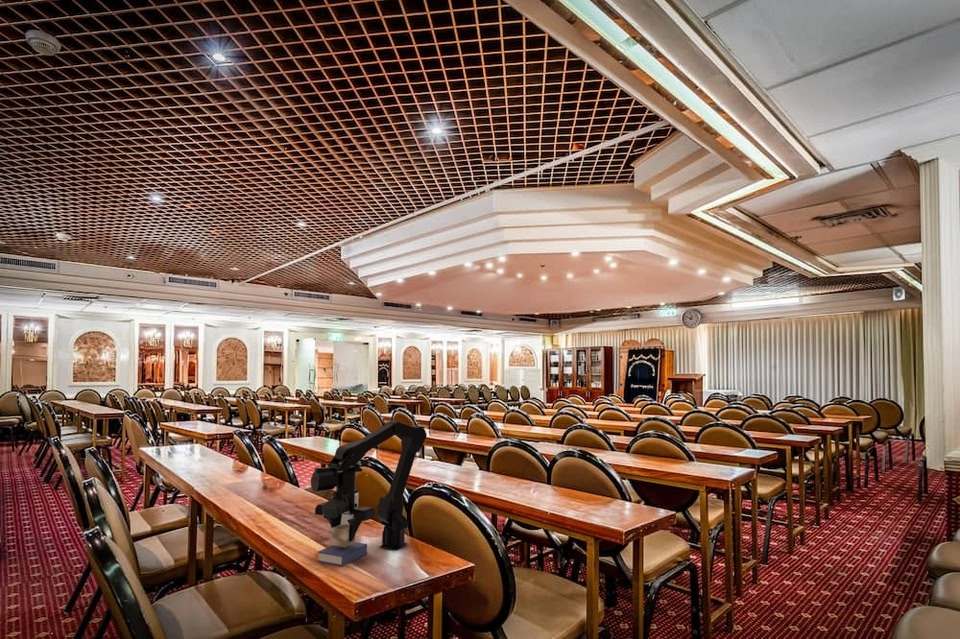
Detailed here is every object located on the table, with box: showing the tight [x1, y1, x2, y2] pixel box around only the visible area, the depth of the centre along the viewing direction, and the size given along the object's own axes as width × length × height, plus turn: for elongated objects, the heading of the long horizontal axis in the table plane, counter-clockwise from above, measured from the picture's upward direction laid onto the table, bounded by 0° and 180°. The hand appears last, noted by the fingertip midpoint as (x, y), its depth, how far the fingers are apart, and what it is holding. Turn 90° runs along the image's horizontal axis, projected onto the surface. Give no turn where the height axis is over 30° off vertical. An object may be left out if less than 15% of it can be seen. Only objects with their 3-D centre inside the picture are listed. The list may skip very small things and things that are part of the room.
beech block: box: [330, 524, 356, 547], centre depth 157 cm, size 5×5×5 cm
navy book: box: [317, 541, 368, 567], centre depth 156 cm, size 9×12×3 cm
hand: (343, 540), depth 157 cm, fingers closed on beech block, 5 cm apart
